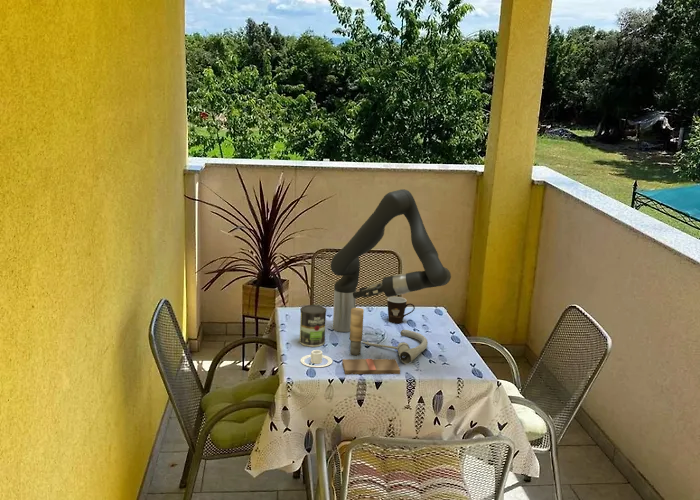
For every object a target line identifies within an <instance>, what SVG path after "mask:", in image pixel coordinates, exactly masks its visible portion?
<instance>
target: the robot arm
mask: <svg viewBox="0 0 700 500" xmlns="http://www.w3.org/2000/svg"><path fill="white" fill-rule="evenodd" d="M373 211H374V212H372V214H371V215H370V216H369V217H368V218H367V220H366V221H365V222H364V223H363V224H362V225H361V226H360V228H359V229H358V230H357V231H356V232H355V234H354V235H353V236H352V237H351V238H350V240H348V242H347V243H346V244H345V245H344V246H343V247H342V248H341V249H340V250H339V251H338V252H337V253H336V254H335V255H334V256H333V257H332V259H331V261H330V270H331V272H332V273H333V274H334V275H336V276H341V277H340V279H338V280H337V281H336V282H334V286H333V287H334V290H333V310H332V311H333V312H332V313H333V314H332V315H333V317H332V329H333V330H334V331H337V332H339V333H348V332H349V333H350V323H351V309H352V308H357V306H356V304H357V303H356V302H357V299H358V298H364V299H365V298H369V297H373V296H379V295H381V294H383V293H384V296H386V297H387V298H389V297H397V296H401V295H405V294H408V293H412V292H416V291H421V290H424V289H429V288H430V289H431V288H437V287H442V286H446V285H447V284H448V283H449V282H450V281H451V278H452V274H451V271H450V270H449V269H448V268H446V267H445V266H444V265H443V263H442V262H441V259H440V258H439V253H438V251H437V249H436V247H435V245H434V244H433V242H432V240H431V238H430V236H429V234H428V231H427V229H426V227H425V225H424V221H423V220H422V216H421V214H420V211H419V208H418V206H417V203H416V201H415V198H414V196H413V194H412V193H411V192H410V191H409V190H408V189H403V188H402V189H398V190H393V191H390V192H388V193H386V194H385V195H384V196H383V197H382V198H381V201H380V202H379V203H378V205H377V207H376V208H375V210H373ZM401 215H403V216H404V217H405V218H406V220H407V222H408V225H409V228H410V229H409V230H410V240H411V245H412V248H413V250H414V252H415V254H416V255H417V257H418V259H419V260H420V262H421V264H422V267H423V270H419V271H411V272H408V273H398V274H394V275H390V276H385V277H383V278H382V280H381V282H377V283H371V284H370V285H368V286H364V287H360V288H359V289H358V291H357V286H358V284H359V277H360V269H361V268H360V267H361V262H360V258H359V257H361V256H363V255H365V254H367V252H370V251H372V250H373V249H374V248H375V247H376V246H377V245H378V243H380V241H381V240H382V239H383V237H384V235H385V230H386V226H387V225H388V224H389V223H390V222H391V221H392V220H393V219H394V218H395V217H398V216H401Z"/></svg>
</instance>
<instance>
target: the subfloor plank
mask: <svg viewBox="0 0 700 500" xmlns="http://www.w3.org/2000/svg"><path fill="white" fill-rule="evenodd" d="M342 367H343V371H344V375H401V369H400V367H399V364H398V362H397V360H396V358H382V359H381V358H378V359H377V358H363V359H362V358H360V359H359V358H355V359H354V358H351V359H350V358H349V359H348V358H347V359H345V358H343V359H342Z"/></svg>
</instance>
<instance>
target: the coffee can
mask: <svg viewBox="0 0 700 500" xmlns="http://www.w3.org/2000/svg"><path fill="white" fill-rule="evenodd" d="M299 309H300V321H299V322H300V324H299V325H300V326H299V329H300V330H299V344H301V346H305V347H310V348H315V347H322V346H323V345H324V344H325V343H326V342H325V341H326V339H325V338H326V321H327V320H326V319H327V318H326V317H327V308H326V307H324V306H322V305H315V304H310V305H309V304H308V305H303V306H301V307H300V308H299Z"/></svg>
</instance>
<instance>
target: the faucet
mask: <svg viewBox="0 0 700 500" xmlns="http://www.w3.org/2000/svg"><path fill="white" fill-rule="evenodd" d="M399 334H400V336H401V337H407V338H412V339H415V340H418V341H419V342H420V344H419V345H417V346H416V347H412V348H410V345H409V344H408V343H407V342H404V341H402V342H399V343H398V344H397V346H396V345H395V346H393V345H387V344H386V345H385V344H379V343H373V342H369V340H366V341H367V342H363V343H362V344H364V343H365V344H364V345H367V346H371V347H378V348H386V349H394V350H397V353H398V356H399V359H400V361H401V363H403V364H404V365H409V364H411V363H412V362H413V361H414V360H416V358H417V357H418V356H419V355H420V354H421V353H423V352H424V351H425V350H426V348H428V342H429V341H428V339H427V338H426V337H425V336H424V335H423V334H421V333H419V332H415V331H412V330H410V329H409V330H408V329H401V330H400V333H399Z"/></svg>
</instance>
